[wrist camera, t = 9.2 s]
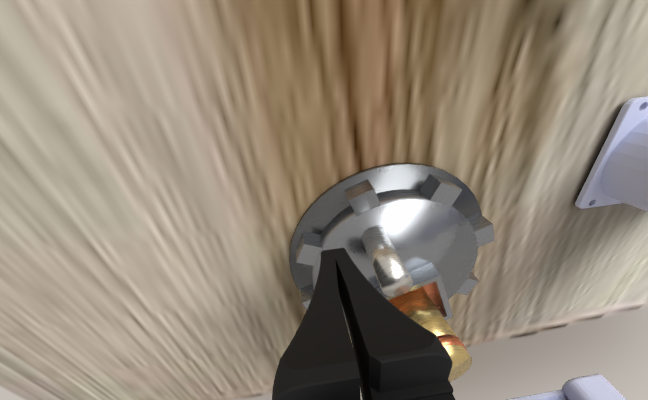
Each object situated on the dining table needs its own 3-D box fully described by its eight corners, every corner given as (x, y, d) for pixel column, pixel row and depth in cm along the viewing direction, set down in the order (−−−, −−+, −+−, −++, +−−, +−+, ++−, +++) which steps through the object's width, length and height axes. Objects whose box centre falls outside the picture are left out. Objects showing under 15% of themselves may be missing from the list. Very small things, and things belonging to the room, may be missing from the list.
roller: (430, 282, 18) (479, 348, 14) (422, 312, 20) (464, 379, 15) (389, 288, 18) (426, 358, 13) (384, 318, 19) (416, 390, 15)
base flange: (503, 149, 16) (507, 151, 16) (459, 301, 23) (462, 305, 23) (272, 178, 15) (271, 181, 15) (303, 327, 22) (303, 331, 22)
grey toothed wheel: (499, 161, 16) (590, 203, 11) (458, 304, 23) (503, 368, 18) (282, 189, 15) (277, 247, 10) (309, 328, 22) (313, 402, 17)
